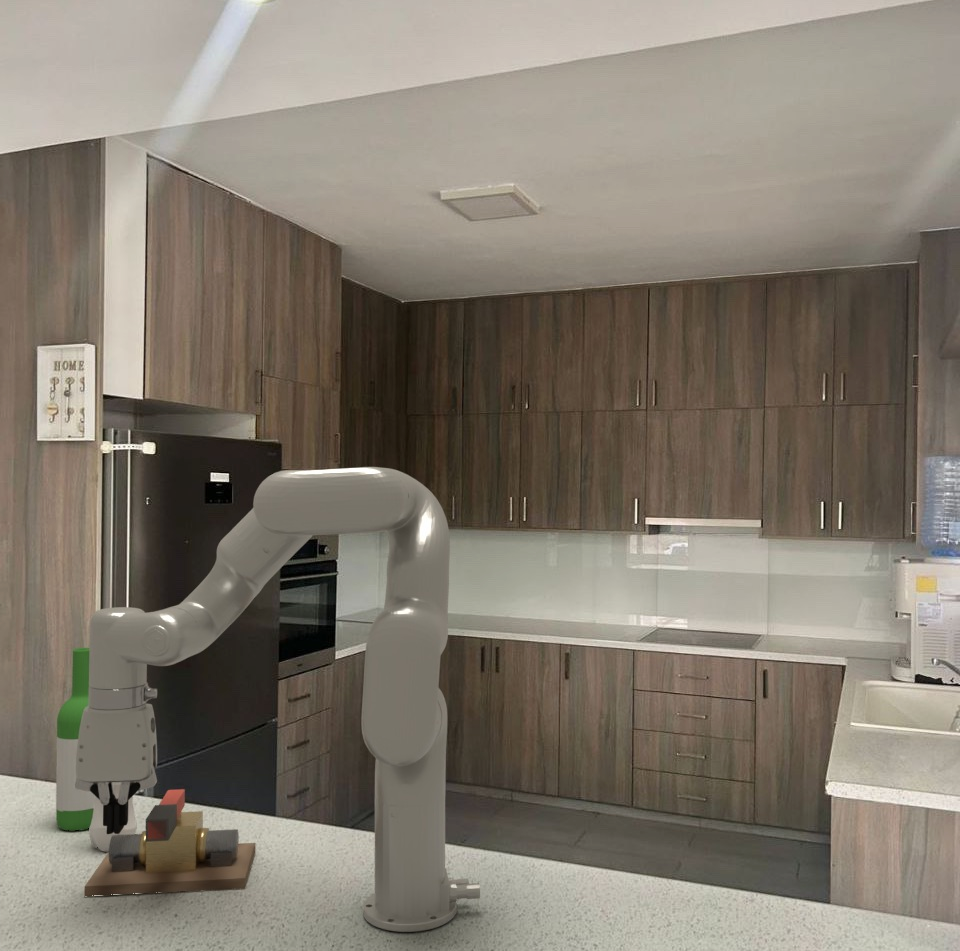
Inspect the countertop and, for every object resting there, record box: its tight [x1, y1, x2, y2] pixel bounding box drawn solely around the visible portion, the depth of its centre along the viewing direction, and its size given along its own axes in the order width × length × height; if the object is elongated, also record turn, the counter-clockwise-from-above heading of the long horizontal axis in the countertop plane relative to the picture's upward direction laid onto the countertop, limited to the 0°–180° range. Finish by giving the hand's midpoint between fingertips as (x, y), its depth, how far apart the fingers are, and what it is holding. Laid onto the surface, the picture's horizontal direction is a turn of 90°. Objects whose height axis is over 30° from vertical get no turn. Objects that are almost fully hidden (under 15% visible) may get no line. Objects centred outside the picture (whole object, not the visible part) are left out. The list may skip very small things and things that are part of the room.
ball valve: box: [108, 810, 240, 873], centre depth 142 cm, size 18×6×6 cm, turn 97°
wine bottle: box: [55, 647, 94, 832], centre depth 163 cm, size 8×8×30 cm
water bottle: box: [88, 782, 138, 852], centre depth 154 cm, size 7×7×25 cm
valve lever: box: [145, 788, 186, 842], centre depth 136 cm, size 3×14×4 cm, turn 7°
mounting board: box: [84, 842, 256, 898], centre depth 142 cm, size 22×14×2 cm, turn 97°
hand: (115, 830), depth 132 cm, fingers closed
